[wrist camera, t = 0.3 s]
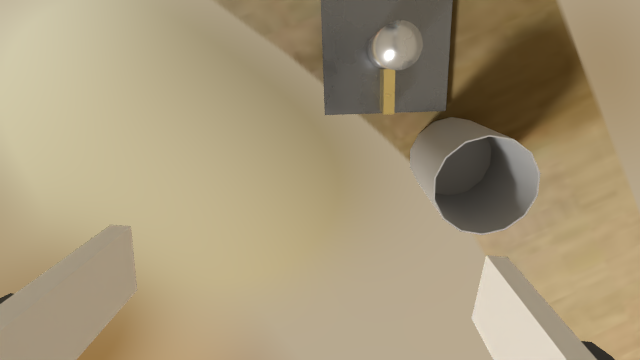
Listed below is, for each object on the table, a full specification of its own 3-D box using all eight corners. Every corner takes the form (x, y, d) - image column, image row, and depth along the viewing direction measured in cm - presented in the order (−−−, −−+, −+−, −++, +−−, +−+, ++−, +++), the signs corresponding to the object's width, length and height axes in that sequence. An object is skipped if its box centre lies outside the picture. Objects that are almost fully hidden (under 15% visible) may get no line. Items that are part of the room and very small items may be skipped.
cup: (396, 141, 39) (416, 166, 29) (470, 102, 37) (516, 115, 28) (430, 207, 41) (458, 250, 31) (501, 172, 39) (554, 207, 30)
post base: (320, -16, 35) (315, -41, 26) (450, -22, 34) (489, -51, 26) (325, 113, 38) (321, 128, 30) (443, 109, 38) (474, 123, 29)
